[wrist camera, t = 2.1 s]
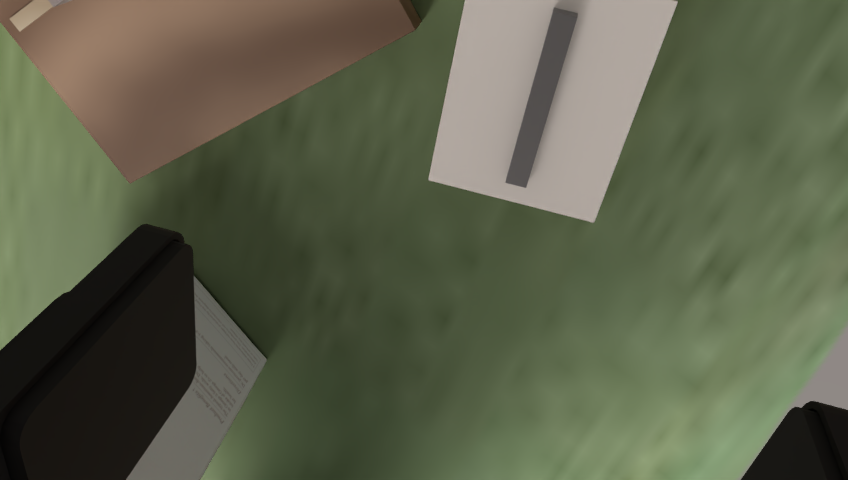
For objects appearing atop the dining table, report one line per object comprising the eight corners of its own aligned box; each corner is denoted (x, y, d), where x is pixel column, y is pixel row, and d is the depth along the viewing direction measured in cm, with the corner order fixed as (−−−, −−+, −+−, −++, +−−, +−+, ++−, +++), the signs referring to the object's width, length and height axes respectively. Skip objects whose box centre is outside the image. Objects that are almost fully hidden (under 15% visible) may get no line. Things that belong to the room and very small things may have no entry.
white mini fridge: (659, -39, 24) (680, 6, 18) (592, 148, 28) (593, 230, 22) (497, -76, 24) (471, -42, 19) (456, 114, 28) (425, 186, 23)
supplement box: (100, 306, 39) (-79, 489, 28) (190, 263, 36) (25, 451, 25) (183, 395, 42) (47, 592, 31) (273, 362, 38) (155, 569, 28)
